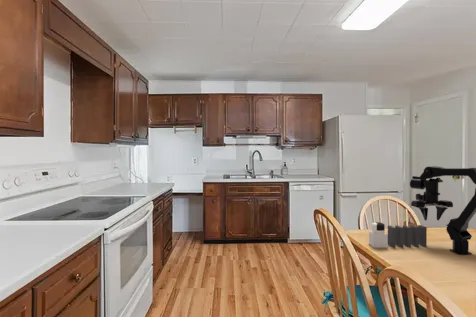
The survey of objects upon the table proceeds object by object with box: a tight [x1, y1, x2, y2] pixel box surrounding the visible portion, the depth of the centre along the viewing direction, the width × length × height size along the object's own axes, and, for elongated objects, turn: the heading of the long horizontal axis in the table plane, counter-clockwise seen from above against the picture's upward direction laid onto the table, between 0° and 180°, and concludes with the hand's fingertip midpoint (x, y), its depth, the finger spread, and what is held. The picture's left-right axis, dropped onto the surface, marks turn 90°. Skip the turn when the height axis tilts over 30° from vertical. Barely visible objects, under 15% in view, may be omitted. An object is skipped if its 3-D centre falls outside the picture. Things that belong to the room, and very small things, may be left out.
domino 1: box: [387, 224, 397, 248], centre depth 163 cm, size 5×2×10 cm, turn 1°
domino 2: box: [394, 224, 404, 248], centre depth 163 cm, size 5×2×10 cm, turn 1°
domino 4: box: [409, 224, 420, 248], centre depth 163 cm, size 5×2×10 cm, turn 1°
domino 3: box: [402, 224, 412, 248], centre depth 163 cm, size 5×2×10 cm, turn 1°
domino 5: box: [417, 224, 428, 248], centre depth 164 cm, size 5×2×10 cm, turn 1°
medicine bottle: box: [368, 221, 389, 249], centre depth 163 cm, size 7×7×12 cm
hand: (431, 220), depth 163 cm, fingers open, 6 cm apart
